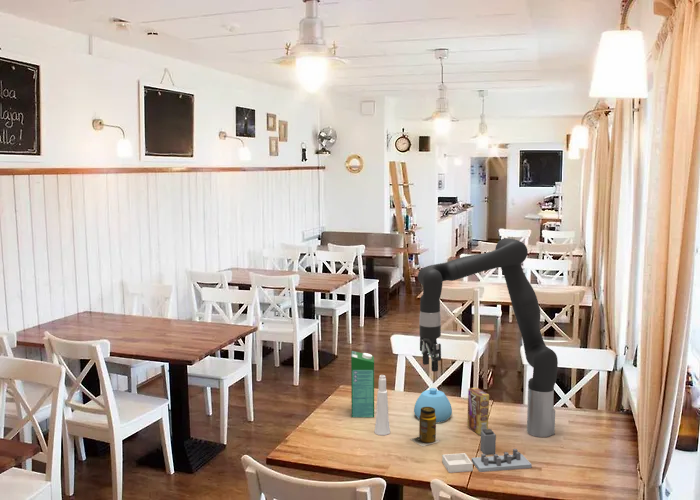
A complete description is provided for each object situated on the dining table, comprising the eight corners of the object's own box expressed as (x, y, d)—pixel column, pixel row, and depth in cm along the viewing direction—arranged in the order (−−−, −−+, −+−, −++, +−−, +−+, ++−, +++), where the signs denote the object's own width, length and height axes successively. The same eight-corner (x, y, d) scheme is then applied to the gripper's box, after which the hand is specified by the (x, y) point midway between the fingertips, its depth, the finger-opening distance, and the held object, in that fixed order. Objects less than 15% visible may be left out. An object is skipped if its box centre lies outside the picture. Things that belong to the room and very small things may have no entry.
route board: (521, 457, 230) (522, 447, 229) (531, 467, 222) (531, 457, 222) (471, 461, 227) (471, 451, 227) (479, 471, 219) (479, 461, 219)
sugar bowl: (425, 407, 278) (426, 380, 276) (458, 415, 269) (458, 387, 267) (407, 418, 266) (407, 390, 264) (440, 427, 257) (441, 398, 255)
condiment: (440, 441, 244) (441, 409, 242) (422, 447, 239) (423, 414, 237) (427, 434, 250) (428, 403, 248) (410, 440, 245) (410, 408, 243)
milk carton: (374, 417, 266) (374, 356, 263) (351, 417, 267) (351, 356, 263) (373, 409, 275) (373, 350, 272) (351, 409, 276) (351, 350, 272)
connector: (491, 449, 237) (491, 428, 236) (495, 454, 233) (495, 432, 232) (480, 450, 236) (480, 429, 235) (484, 455, 232) (484, 433, 231)
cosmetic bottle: (374, 429, 255) (374, 373, 252) (390, 429, 255) (390, 373, 252) (374, 435, 249) (374, 378, 246) (390, 435, 249) (390, 378, 246)
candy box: (489, 433, 250) (489, 394, 248) (478, 435, 249) (479, 395, 247) (476, 425, 258) (477, 387, 256) (466, 426, 257) (467, 388, 255)
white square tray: (464, 460, 228) (465, 453, 228) (472, 470, 220) (472, 463, 220) (442, 462, 227) (442, 454, 226) (449, 472, 219) (449, 465, 219)
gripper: (448, 327, 231) (447, 372, 234) (432, 318, 245) (432, 361, 247) (427, 329, 229) (427, 374, 232) (413, 319, 243) (413, 363, 245)
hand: (430, 367), depth 239 cm, fingers open, 8 cm apart
